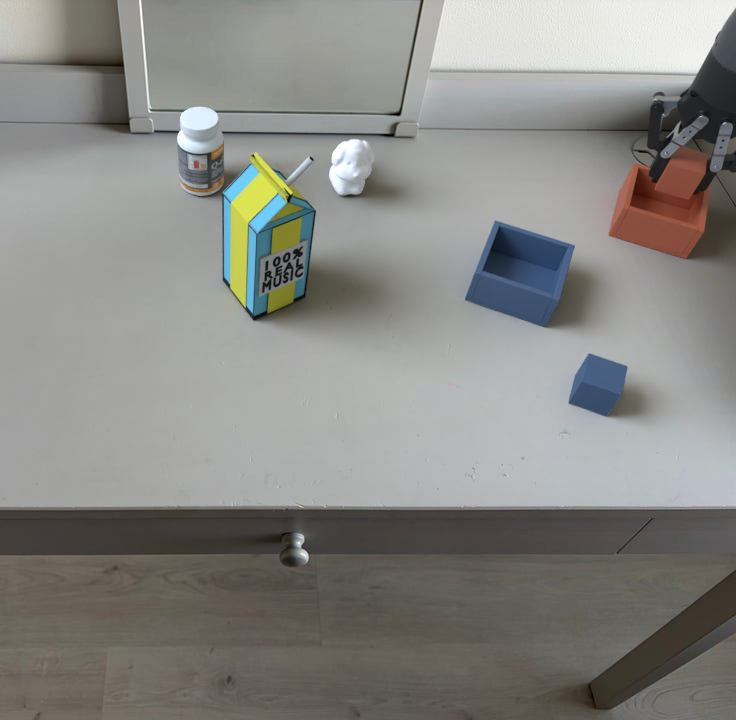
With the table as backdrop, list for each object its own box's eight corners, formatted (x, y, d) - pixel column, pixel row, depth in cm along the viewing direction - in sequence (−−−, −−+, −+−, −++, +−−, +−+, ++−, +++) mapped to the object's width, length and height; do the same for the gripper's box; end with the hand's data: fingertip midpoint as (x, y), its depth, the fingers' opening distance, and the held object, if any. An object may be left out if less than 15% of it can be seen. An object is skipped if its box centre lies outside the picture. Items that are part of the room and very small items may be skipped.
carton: (312, 296, 89) (329, 171, 75) (254, 322, 87) (260, 198, 72) (278, 255, 93) (288, 129, 79) (222, 279, 91) (221, 153, 76)
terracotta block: (692, 180, 94) (708, 153, 91) (688, 200, 92) (705, 173, 89) (658, 170, 95) (673, 144, 92) (654, 190, 93) (669, 163, 90)
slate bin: (561, 272, 93) (575, 245, 89) (545, 327, 88) (559, 300, 84) (484, 248, 95) (495, 220, 91) (464, 300, 90) (474, 272, 86)
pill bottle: (223, 198, 99) (222, 133, 91) (178, 197, 99) (173, 132, 91) (224, 169, 102) (224, 104, 94) (181, 168, 102) (177, 102, 94)
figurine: (330, 206, 99) (338, 155, 92) (321, 166, 103) (327, 115, 97) (372, 204, 99) (382, 154, 93) (361, 164, 104) (370, 113, 97)
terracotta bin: (693, 212, 100) (711, 184, 97) (686, 259, 95) (704, 231, 91) (619, 190, 102) (634, 162, 99) (608, 235, 97) (623, 207, 93)
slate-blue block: (612, 388, 83) (628, 366, 80) (606, 416, 81) (622, 395, 78) (574, 375, 84) (588, 352, 81) (567, 403, 82) (581, 381, 78)
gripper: (675, 54, 79) (609, 185, 93) (825, 92, 76) (733, 222, 90) (683, 19, 84) (618, 150, 97) (825, 54, 80) (738, 183, 94)
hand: (674, 184), depth 94 cm, fingers closed on terracotta block, 4 cm apart
